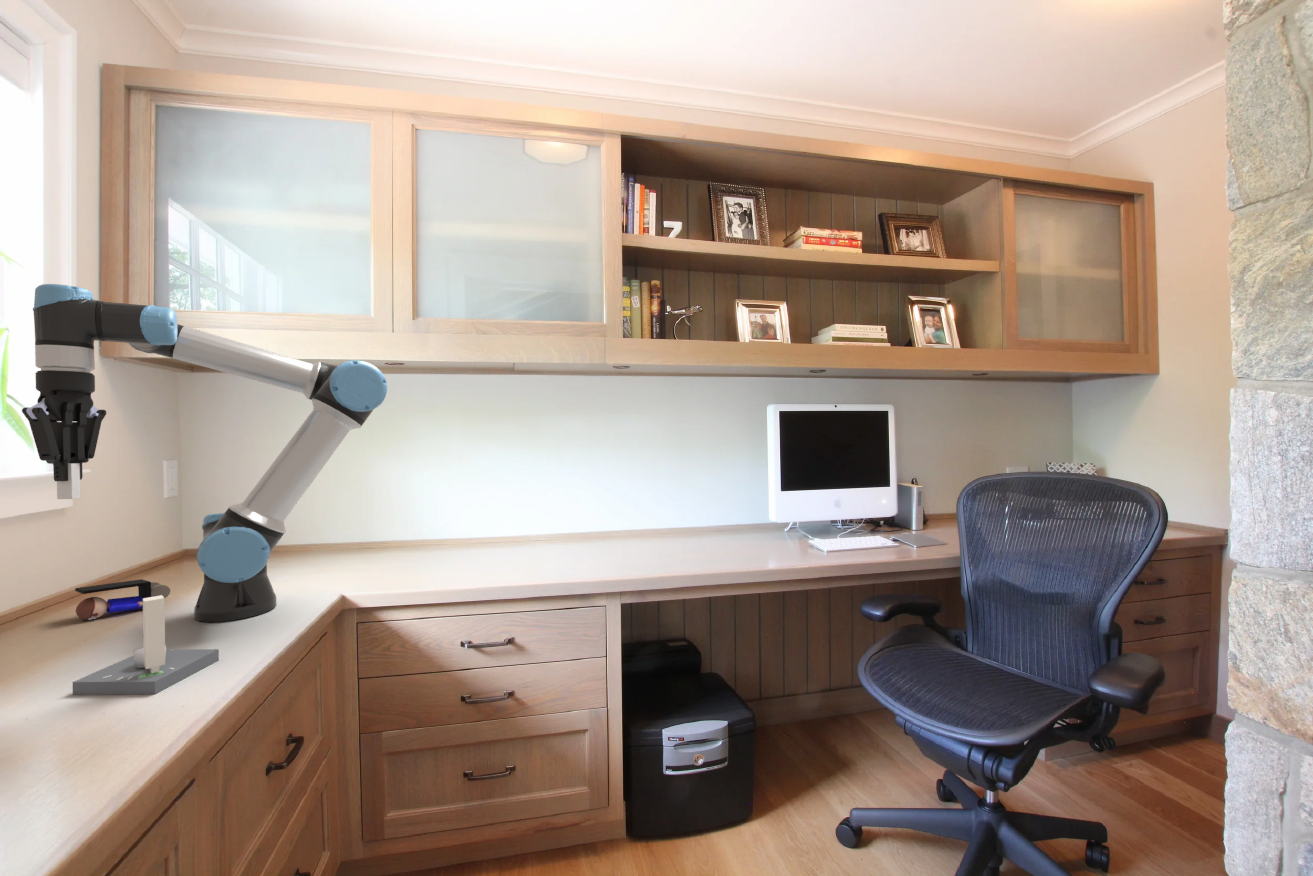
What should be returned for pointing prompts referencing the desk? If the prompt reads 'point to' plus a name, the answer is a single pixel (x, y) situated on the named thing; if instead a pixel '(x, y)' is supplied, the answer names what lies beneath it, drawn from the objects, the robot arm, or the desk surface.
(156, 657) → the lever
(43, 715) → the desk surface
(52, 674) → the desk surface
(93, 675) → the dial plate
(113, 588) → the figurine character
